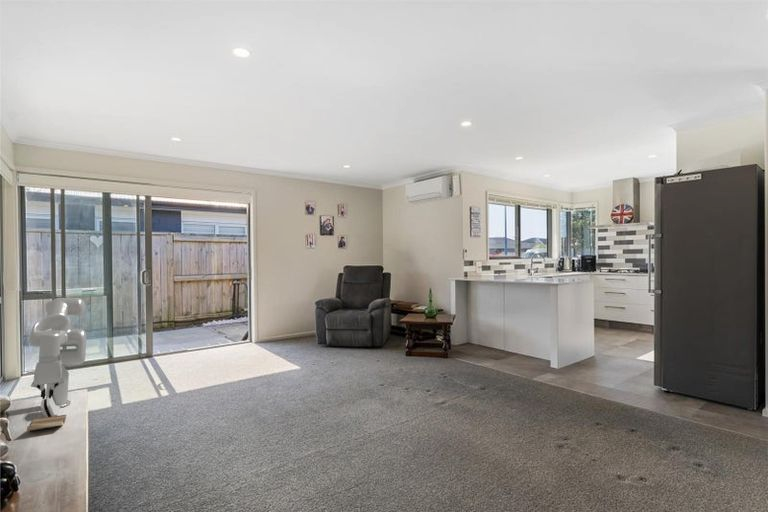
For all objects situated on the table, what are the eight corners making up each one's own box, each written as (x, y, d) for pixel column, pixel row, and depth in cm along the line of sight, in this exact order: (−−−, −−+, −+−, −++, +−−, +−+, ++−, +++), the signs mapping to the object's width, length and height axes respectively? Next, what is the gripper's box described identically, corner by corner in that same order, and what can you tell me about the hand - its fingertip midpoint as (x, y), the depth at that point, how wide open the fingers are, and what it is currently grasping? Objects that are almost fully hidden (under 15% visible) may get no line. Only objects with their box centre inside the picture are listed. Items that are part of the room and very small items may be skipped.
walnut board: (33, 422, 196) (33, 418, 196) (66, 417, 203) (66, 413, 204) (29, 430, 187) (29, 426, 187) (64, 425, 194) (64, 421, 194)
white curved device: (58, 418, 202) (51, 401, 201) (47, 423, 200) (39, 405, 198) (60, 408, 216) (53, 392, 214) (49, 413, 213) (42, 396, 211)
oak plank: (29, 431, 186) (30, 427, 186) (63, 425, 193) (63, 422, 194) (26, 430, 178) (27, 426, 178) (61, 424, 185) (62, 421, 185)
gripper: (71, 355, 192) (68, 393, 192) (28, 359, 183) (26, 398, 182) (69, 358, 186) (67, 397, 185) (25, 362, 177) (23, 403, 176)
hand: (47, 397), depth 184 cm, fingers closed
